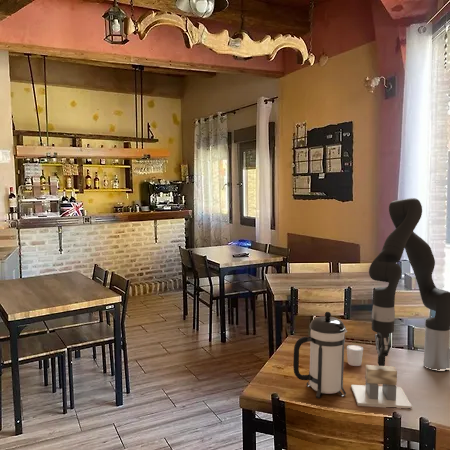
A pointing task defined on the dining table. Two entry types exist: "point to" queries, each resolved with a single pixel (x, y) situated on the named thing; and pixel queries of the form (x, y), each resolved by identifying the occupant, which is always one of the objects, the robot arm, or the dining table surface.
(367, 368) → the birch lintel
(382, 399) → the bridge base
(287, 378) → the dining table surface
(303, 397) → the dining table surface
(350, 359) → the white cup
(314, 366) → the coffee press
